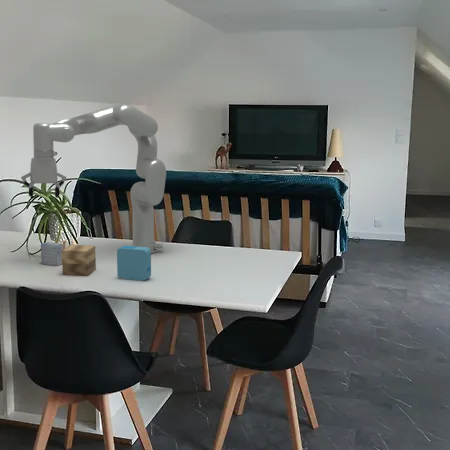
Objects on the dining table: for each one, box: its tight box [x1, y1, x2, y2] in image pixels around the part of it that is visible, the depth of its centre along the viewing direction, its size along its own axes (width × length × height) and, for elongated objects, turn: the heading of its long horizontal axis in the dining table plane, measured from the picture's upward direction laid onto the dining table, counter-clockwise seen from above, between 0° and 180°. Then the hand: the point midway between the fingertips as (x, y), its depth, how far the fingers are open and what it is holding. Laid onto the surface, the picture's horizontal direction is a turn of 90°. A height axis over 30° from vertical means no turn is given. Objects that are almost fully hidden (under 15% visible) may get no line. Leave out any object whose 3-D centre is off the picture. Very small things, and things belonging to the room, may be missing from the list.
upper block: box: [62, 244, 96, 264], centre depth 231 cm, size 10×10×5 cm
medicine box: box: [40, 241, 64, 267], centre depth 244 cm, size 8×4×9 cm, turn 71°
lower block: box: [61, 257, 97, 277], centre depth 232 cm, size 10×10×5 cm
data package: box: [116, 245, 152, 281], centre depth 224 cm, size 12×4×12 cm, turn 75°
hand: (44, 197), depth 238 cm, fingers open, 9 cm apart
